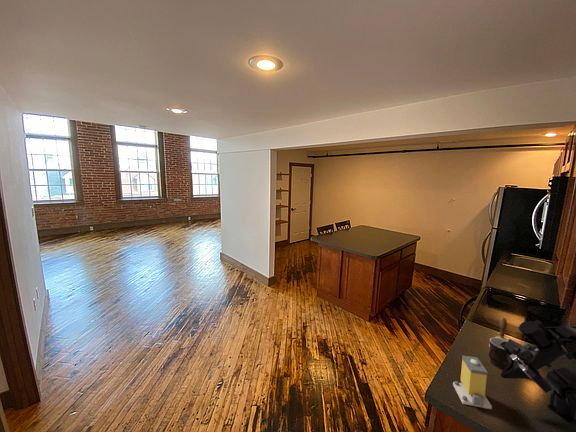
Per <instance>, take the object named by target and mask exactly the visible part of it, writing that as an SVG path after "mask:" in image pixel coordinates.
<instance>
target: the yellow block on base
mask: <svg viewBox="0 0 576 432" xmlns="http://www.w3.org/2000/svg"><path fill="white" fill-rule="evenodd" d="M461 359H462V361H461V371H460V372H461V373H460V383H461V382H462V383H463V385H464V387H465V389H466V391H467V392H468V394H469V395H472V396H473V394H476V395H482V396H483V397H485V396H486V386H487V378H488V375H489V372H488V371H487V369H486V367H485V366H484V365H483V363H482V362H481V360H480V359H479V358H478V357H477V356H469V355H462V356H461Z"/></svg>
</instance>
